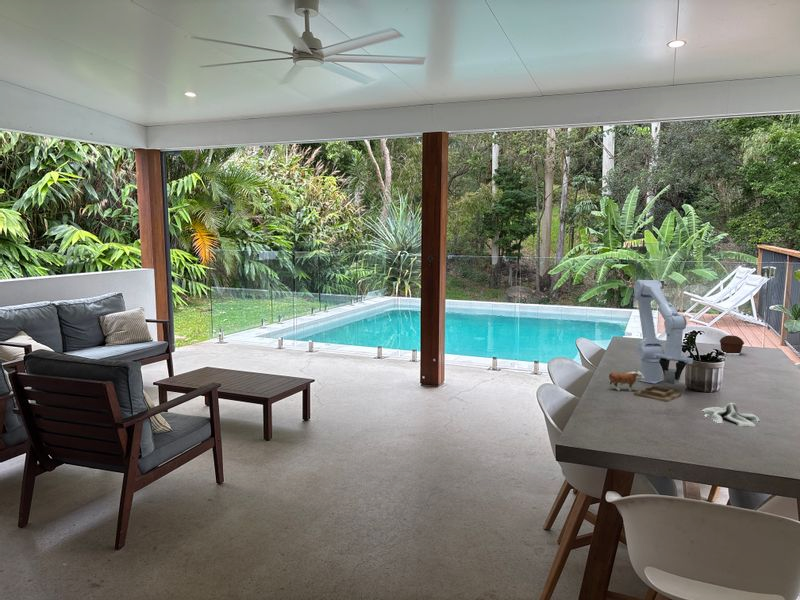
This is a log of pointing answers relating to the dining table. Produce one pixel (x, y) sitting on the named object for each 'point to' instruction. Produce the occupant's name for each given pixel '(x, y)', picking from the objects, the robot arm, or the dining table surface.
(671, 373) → the grey wood-grain block
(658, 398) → the brown square tray
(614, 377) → the bull figurine
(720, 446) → the dining table surface
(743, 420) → the cloth
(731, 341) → the muffin
